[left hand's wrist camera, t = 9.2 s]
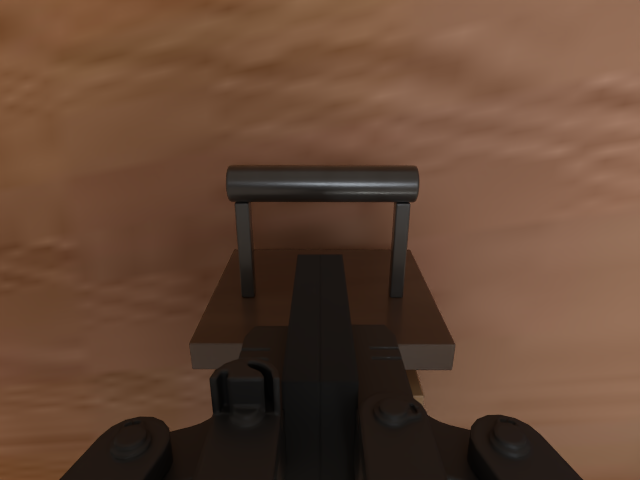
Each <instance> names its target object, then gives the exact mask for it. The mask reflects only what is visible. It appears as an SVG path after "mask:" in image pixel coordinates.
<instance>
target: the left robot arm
mask: <svg viewBox="0 0 640 480" xmlns="http://www.w3.org/2000/svg"><path fill="white" fill-rule="evenodd" d="M210 387H211V397H212V407H213V416H212V417H211V418H210V419H208V420H206V421H204V422H203V423H201V424H198V425H195V426H192V427H188V428H184V429H180V430H176V431H172V432H169V428H168V427H167V425H166V424H165V423H164V422H163V421H162V420H159V419H157V418H154V417H136V418H132V419H128V420H125V421H122V422H120V423H118V424H116V425H114V426H112V427H111V428H110V429H108V430H107V431H106V432H105V433H103V434H102V435H101V436H100V437H99V438H98V439H97V440H96V441H95V442H94V443H93V444H92V445H91V447H90V448H89V449H88V450H87V451H86V452H85V453H84V454H83V455H82V456H81V457H80V458H79V459H78V460H77V461H76V463H75V464H74V465H73V466H72V467H71V468H70V469H69V470H68V471H67V472H66V473H65V474H64V475H63V476H62V478H61V479H60V480H583V479H582V478H581V477H580V476H579V475H578V474H577V473H576V472H575V471H574V470H573V469H572V468H571V466H570V465H569V464H568V463H567V462H566V461H565V460H564V459H563V458H562V457H561V456H560V455H559V454H558V453H557V452H556V450H555V449H554V448H553V447H552V446H551V445H550V444H549V443H548V442H547V441H546V440H545V439H544V438H543V437H542V436H541V435H540V434H539V433H538V432H537V431H536V430H534V429H533V428H532V427H531V426H529V425H528V424H526V423H524V422H522V421H520V420H518V419H515V418H512V417H508V416H503V415H487V416H484V417H482V418H479V419H477V420H476V421H475V423H474V424H473V425H472V426H471V430H467V429H463V428H459V427H455V426H451V425H448V424H445V423H442V422H439V421H437V420H435V419H433V418H431V417H430V416H428V415H427V413H426V411H425V409H424V408H423V406H422V404H421V403H419V402H418V401H417V400H416V399H414V397H413V394H412V390H411V387H410V384H409V380H408V377H407V373H406V370H405V367H404V363H403V360H402V357H401V353H400V350H399V346H398V343H397V340H396V336H395V334H394V333H393V332H392V331H391V330H390V329H388V328H387V327H386V326H385V325H351V317H350V310H349V302H348V294H347V286H346V279H345V271H344V263H343V255H342V254H298V255H297V263H296V271H295V279H294V286H293V294H292V302H291V310H290V317H289V325H288V326H255V327H254V328H253V329H252V330H251V331H250V332H249V333H248V334H247V335H246V336H245V338H244V341H243V345H242V348H241V352H240V355H239V358H238V359H236V360H233V361H231V362H228V363H225V364H223V365H222V366H221V367H219V368H218V369H216V370H215V371H214V373H213V374H212V376H211V377H210Z"/></svg>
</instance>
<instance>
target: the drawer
mask: <svg viewBox="0 0 640 480" xmlns="http://www.w3.org/2000/svg"><path fill="white" fill-rule="evenodd" d="M226 191H227V196H228V199H229V201H231V202H236V203H235V215H236V229H237V242H238V249H235V250H234V252H233V254H232V256H231V258H230V260H229V262H228V264H227V266H226V268H225V271H224V273H223V275H222V277H221V279H220V281H219V283H218V285H217V287H216V289H215V291H214V293H213V295H212V298H211V300H210V302H209V304H208V306H207V308H206V310H205V312H204V314H203V316H202V318H201V320H200V323H199V325H198V327H197V329H196V331H195V333H194V335H193V337H192V339H191V341H190V343H189V346H190V353H191V361H192V368H193V369H218V368H219V367H221V366H222V365H223V364H225V363H228V362H231V361H233V360H236V359H238V358H239V355H240V352H241V348H242V345H243V341H244V338H245V336H246V335H247V334H248V333H249V332H250V331H251V330H252V329H253V328H254V327H255V326H288V325H289V317H290V310H291V302H292V294H293V286H294V279H295V271H296V263H297V255H298V254H342V255H343V263H344V271H345V279H346V286H347V294H348V302H349V310H350V317H351V325H385V326H386V327H387V328H388V329H390V330H391V331H392V332H393V333H394V334H395V336H396V340H397V343H398V346H399V350H400V353H401V357H402V360H403V363H404V367H405V370H406V373H407V377H408V380H409V384H410V387H411V390H412V394H413V397H414V399H416V400H417V401H418V402H419V403H421V404H422V406H423V401H424V394H423V391H422V388H421V385H420V381H419V378H418V375H417V372H416V370H452V366H453V359H454V351H455V343H454V341H453V339H452V337H451V335H450V333H449V330H448V328H447V326H446V324H445V322H444V320H443V318H442V316H441V314H440V312H439V309H438V307H437V305H436V303H435V301H434V299H433V297H432V295H431V293H430V291H429V289H428V286H427V284H426V282H425V280H424V278H423V276H422V274H421V272H420V270H419V268H418V266H417V263H416V261H415V259H414V257H413V255H412V253H411V251H410V250H407V241H408V228H409V216H410V203H409V202H415V201H416V199H417V197H418V192H419V172H418V169H417V167H416V166H354V165H230V166H229V167H228V169H227V173H226ZM251 202H394V213H393V228H392V244H391V250H254V247H253V230H252V214H251Z"/></svg>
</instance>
